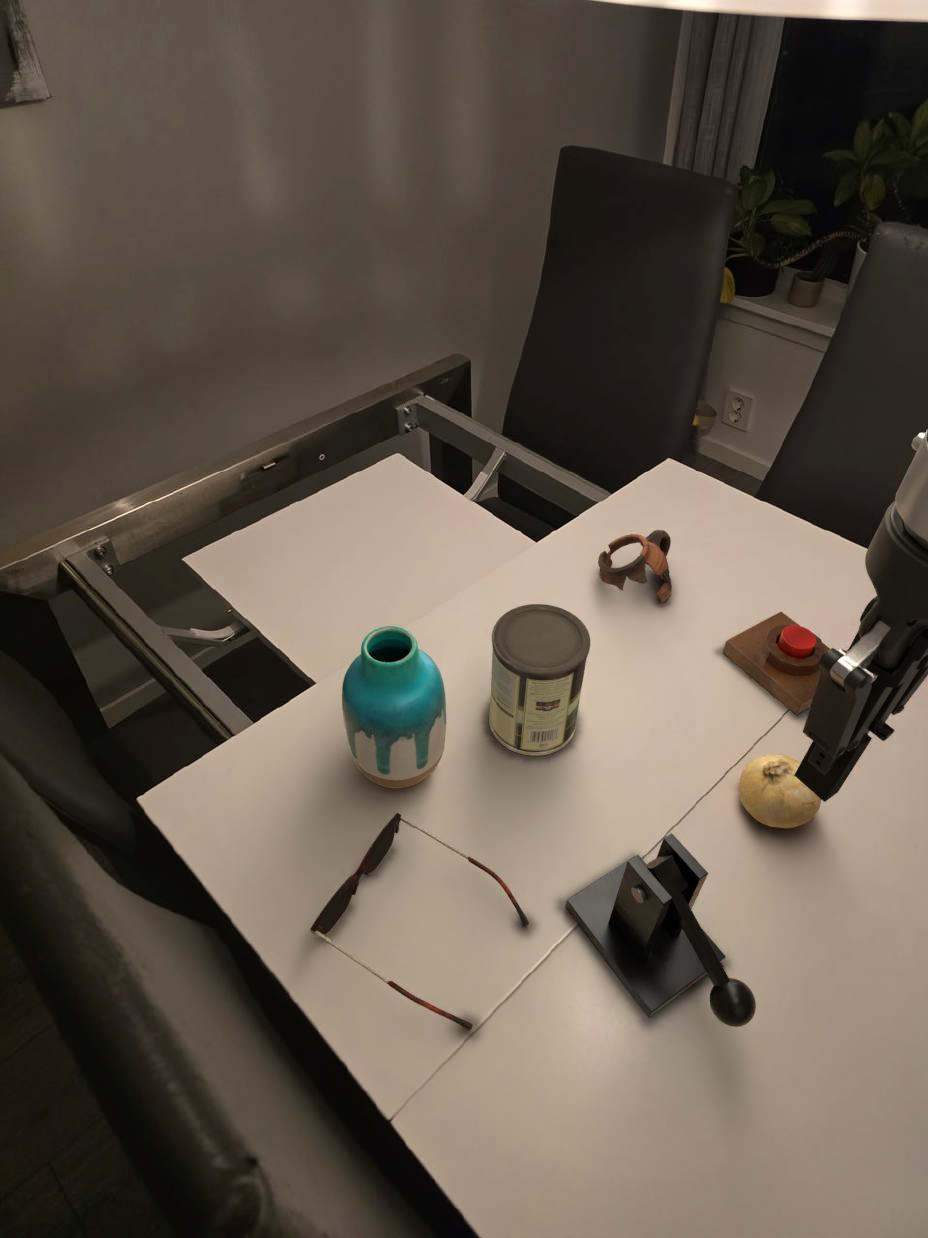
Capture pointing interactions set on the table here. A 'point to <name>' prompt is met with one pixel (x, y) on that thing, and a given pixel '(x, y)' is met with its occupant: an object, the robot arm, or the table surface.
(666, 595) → the pottery mug
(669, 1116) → the table surface
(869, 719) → the robot arm
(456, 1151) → the table surface
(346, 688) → the vase
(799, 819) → the onion
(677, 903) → the lever
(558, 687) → the coffee can
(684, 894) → the bracket
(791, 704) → the button block
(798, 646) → the button
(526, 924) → the sunglasses
